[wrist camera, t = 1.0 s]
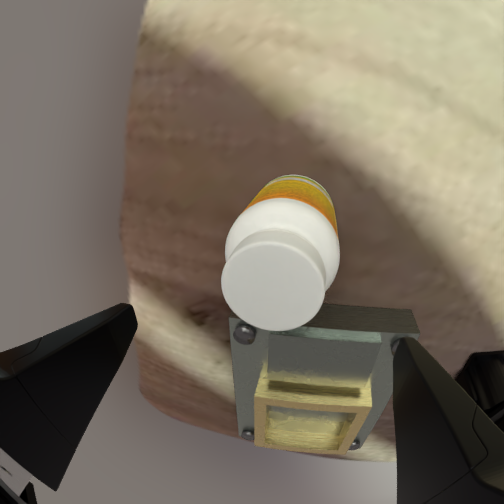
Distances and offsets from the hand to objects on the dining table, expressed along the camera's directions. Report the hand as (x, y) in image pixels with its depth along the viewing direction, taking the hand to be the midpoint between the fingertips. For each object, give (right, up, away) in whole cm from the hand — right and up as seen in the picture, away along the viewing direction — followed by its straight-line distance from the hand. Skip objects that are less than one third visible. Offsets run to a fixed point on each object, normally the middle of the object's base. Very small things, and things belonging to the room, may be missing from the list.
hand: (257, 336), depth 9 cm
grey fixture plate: (+6, -10, +17) cm, 20 cm away
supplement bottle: (+3, +5, +11) cm, 12 cm away
